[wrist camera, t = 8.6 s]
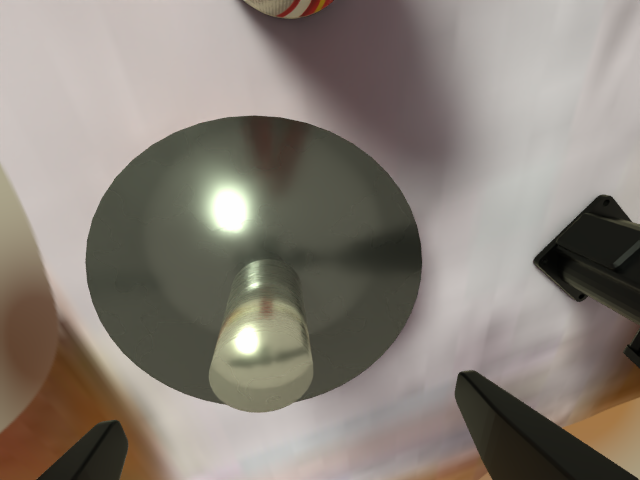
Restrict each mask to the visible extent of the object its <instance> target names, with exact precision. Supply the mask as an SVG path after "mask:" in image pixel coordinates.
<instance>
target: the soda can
mask: <svg viewBox="0 0 640 480" xmlns="http://www.w3.org/2000/svg"><path fill="white" fill-rule="evenodd" d="M243 1H245V2H246V3H247V4H249V5H250V6H252V7H253V8H255V9H256V10H258V11H260V12H262V13H264V14H267V15H270V16H273V17H278V18H287V19H295V18H302V17H306V16H309V15H312V14H314V13H316V12H319V11H320V10H322V9H324V8H325V7H327V6H328V5H329V4H330V3H332V2H333V1H334V0H243Z"/></svg>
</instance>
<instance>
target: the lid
mask: <svg viewBox="0 0 640 480" xmlns="http://www.w3.org/2000/svg"><path fill="white" fill-rule="evenodd" d="M421 268H422V256H421V243H420V238H419V234H418V229H417V225H416V222H415V219H414V217H413V214H412V211H411V209H410V207H409V205H408V203H407V201H406V199H405V197H404V196H403V194H402V192H401V190H400V189H399V187H398V186H397V185H396V184H395V182H394V181H393V180H392V178H391V177H390V176H389V174H388V173H387V172H386V171H385V170H384V169H383V168H382V167H381V166H380V165H379V164H378V163H377V162H376V161H375V160H374V159H373V158H372V157H370V156H369V155H368V154H366V153H365V152H364V151H362V150H361V149H359V148H358V147H357V146H355V145H354V144H353V143H351V142H349V141H347V140H345V139H343V138H341V137H340V136H338V135H336V134H334V133H332V132H330V131H327V130H324V129H322V128H319V127H316V126H313V125H311V124H308V123H304V122H299V121H295V120H290V119H285V118H281V117H267V116H241V117H227V118H222V119H217V120H213V121H208V122H203V123H199V124H197V125H194V126H191V127H188V128H186V129H183V130H180V131H178V132H175V133H173V134H171V135H170V136H168V137H166V138H164V139H162V140H160V141H159V142H157V143H155V144H153V145H152V146H150V147H149V148H148V149H146V150H145V151H144V152H142V153H141V154H140V155H139V156H137V157H136V158H135V159H133V160H132V161H131V162H130V163H129V164H128V165H127V166H126V167H125V169H124V170H123V171H122V172H121V173H120V174H119V175H118V176H117V177H116V178H115V179H114V181H113V182H112V184H111V185H110V187H109V188H108V190H107V191H106V193H105V194H104V196H103V197H102V199H101V201H100V204H99V206H98V208H97V210H96V213H95V215H94V217H93V220H92V223H91V227H90V231H89V235H88V239H87V249H86V273H87V283H88V287H89V291H90V295H91V299H92V302H93V305H94V307H95V309H96V312H97V314H98V316H99V319H100V321H101V323H102V324H103V326H104V328H105V329H106V331H107V332H108V334H109V336H110V337H111V339H112V340H113V341H114V342H115V343H116V345H117V346H118V347H119V348H120V350H121V351H122V352H123V353H124V354H125V355H126V356H127V357H128V358H129V359H130V360H131V361H132V362H134V363H135V364H136V365H137V366H138V367H139V368H141V369H142V370H143V371H145V372H146V373H147V374H149V375H150V376H151V377H153V378H155V379H156V380H158V381H160V382H162V383H163V384H165V385H167V386H169V387H171V388H173V389H175V390H178V391H180V392H182V393H184V394H187V395H190V396H193V397H196V398H199V399H202V400H206V401H211V402H215V403H220V404H226V405H229V406H230V407H233V408H235V409H238V410H241V411H246V412H259V413H260V412H269V411H274V410H278V409H281V408H284V407H286V406H288V405H290V404H292V403H294V402H297V401H301V400H305V399H309V398H312V397H315V396H318V395H320V394H323V393H326V392H328V391H330V390H333V389H335V388H337V387H339V386H341V385H343V384H345V383H346V382H348V381H350V380H351V379H353V378H355V377H356V376H358V375H359V374H360V373H362V372H363V371H364V370H366V369H367V368H368V367H370V366H371V365H372V364H373V363H374V362H375V361H376V360H377V359H378V358H380V357H381V356H382V355H383V354H384V353H385V351H386V350H387V349H388V348H389V347H390V346H391V344H392V343H393V342H394V341H395V339H396V338H397V336H398V335H399V333H400V332H401V330H402V329H403V327H404V325H405V323H406V322H407V320H408V318H409V316H410V314H411V311H412V309H413V306H414V303H415V300H416V298H417V294H418V289H419V285H420V280H421Z"/></svg>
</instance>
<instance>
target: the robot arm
mask: <svg viewBox="0 0 640 480" xmlns="http://www.w3.org/2000/svg"><path fill="white" fill-rule="evenodd" d="M542 260H543V261H542ZM534 263H535V265H536V266H537V267H539V268H540V269H541V270H542V271H543V272H544V273H545V274H546V275H547V276H548V277H549V278H551V279H552V280H553V281H554V282H555V283H556V284H557V285H558V286H559V287H560V288H562V289H563V290H564V291H565V292H566V293H567V294H568V295H569V296H570V297H571V298H573V299H574V300H576V301H578V302H581V301H583V300H584V299H586V298H587V297H588V296H589V297H591V298H593V299H595V300H596V301H598V302H600V303H602V304H603V305H605V306H607V307H608V308H610V309H612V310H614V311H615V312H617V313H619V314H621V315H622V316H624V317H626V318H628V319H629V320H631V321H633V322H635V323H636V324H638V325H640V224H637V223H633V222H632V221H631V220H630V219H629V217H628V216H627V215H626V214H625V212H624V211H623V210H622V209H621V207H620V206H619V205H618V204H617V202H616V201H615V200H614V199H613V197H611V196H608V195H600V196H598V197H597V198H596V199H595V200H594V201H593V202H592V203H591V204H590V205H589V206H588V207H587V208H586V209H585V210H584V211H583V212H582V213H581V214H579V215H578V216H577V217H576V218H575V219H574V220H573V221H572V222H571V223H570V224H569V225H568V226H567V227H566V228H565V229H564V230H563V231H562V232H561V233H560V234H559V235H558V236H557V237H556V238H555V239H554V240H553V241H552V242H551V243H550V244H549V245H548V246H547V247H545V248H544V249H543V250H542V251H541V252H540V253H539V254H538V255H537V256H536V258H535V260H534ZM623 353H624V354H625V355H626V356H627V357H628V358H629V359H630V360H631V361H632V362H633V363H635V364H636V365H637V366H638V367H639V368H640V329H639V330H638V332H637V334H636V335H635V337H634V339H633V340H632V342H631V343H630V345H627V346H626V348H625V350H624V351H623ZM455 399H456V402H457V404H458V407H459V409H460V411H461V413H462V416H463V418H464V420H465V423H466V425H467V427H468V429H469V432H470V434H471V436H472V439H473V441H474V443H475V445H476V448H477V450H478V452H479V454H480V456H481V459H482V461H483V463H484V465H485V467H486V468H487V470H488V472H489V474H490V476H491V478H492V479H493V480H638V478H637V477H635V476H633V475H632V474H630V473H629V472H627V471H626V470H624V469H623V468H621V467H620V466H618V465H617V464H615V463H614V462H612V461H611V460H609V459H608V458H606V457H605V456H603V455H602V454H600V453H599V452H597V451H596V450H594V449H593V448H591V447H590V446H588V445H587V444H585V443H583V442H582V441H580V440H579V439H577V438H576V437H574V436H573V435H571V434H570V433H568V432H567V431H565V430H564V429H562V428H561V427H559V426H558V425H556V424H555V423H553V422H552V421H550V420H549V419H547V418H546V417H544V416H543V415H541V414H540V413H538V412H537V411H535V410H534V409H532V408H531V407H529V406H528V405H526V404H525V403H523V402H522V401H520V400H519V399H517V398H515V397H514V396H512V395H511V394H509V393H508V392H506V391H505V390H503V389H502V388H500V387H499V386H497V385H496V384H494V383H493V382H491V381H490V380H488V379H487V378H485V377H484V376H482V375H481V374H479V373H478V372H476V371H473V370H469V371H462V372H460V373H459V374H458V377H457V383H456V388H455ZM127 451H128V440H127V437H126V435H125V433H124V431H123V428H122V426H121V424H120V422H119V421H117V420H111V421H103V422H100V423H98V424H97V425H95V426H94V427H93V428H92V429H91V430H90V431H89V432H88V433H87V434H85V435H84V436H83V437H82V438H81V439H80V440H79V441H78V442H77V443H76V444H75V445H73V446H72V447H71V448H70V449H69V450H68V451H67V452H66V453H65V454H64V455H63V456H62V457H60V458H59V459H58V460H57V461H56V462H55V463H54V464H53V465H52V466H51V467H50V468H48V469H47V470H46V471H45V472H44V473H43V474H42V475H41V476H40V477H39V478H38V479H36V480H119V479H120V476H121V472H122V469H123V465H124V462H125V458H126V455H127Z"/></svg>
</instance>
